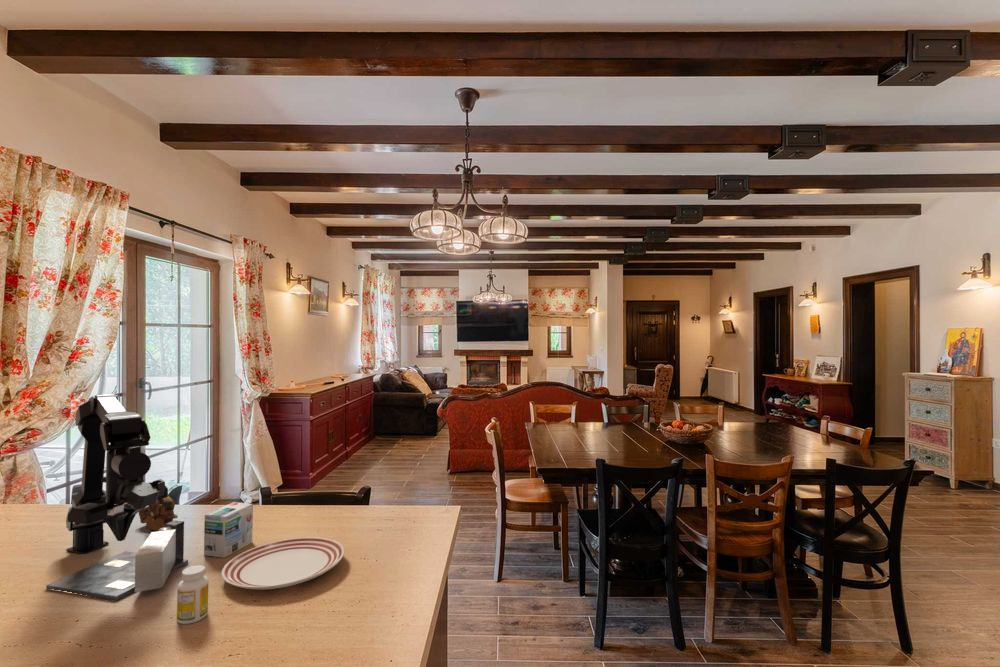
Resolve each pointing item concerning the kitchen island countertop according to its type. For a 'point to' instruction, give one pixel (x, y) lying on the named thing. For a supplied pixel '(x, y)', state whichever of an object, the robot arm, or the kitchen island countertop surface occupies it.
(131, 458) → the robot arm
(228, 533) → the light bulb box
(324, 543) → the dinner plate
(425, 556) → the kitchen island countertop surface
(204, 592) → the supplement bottle
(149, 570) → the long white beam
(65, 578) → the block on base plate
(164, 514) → the wooden carving
